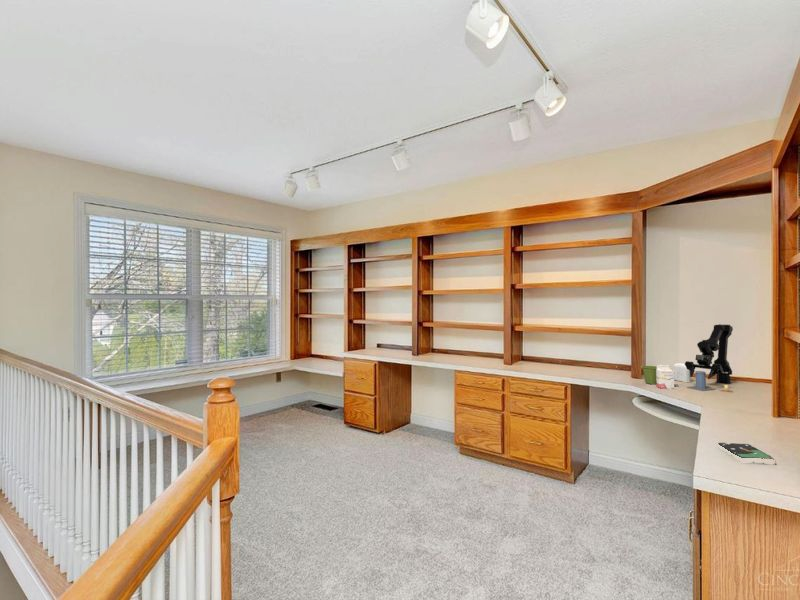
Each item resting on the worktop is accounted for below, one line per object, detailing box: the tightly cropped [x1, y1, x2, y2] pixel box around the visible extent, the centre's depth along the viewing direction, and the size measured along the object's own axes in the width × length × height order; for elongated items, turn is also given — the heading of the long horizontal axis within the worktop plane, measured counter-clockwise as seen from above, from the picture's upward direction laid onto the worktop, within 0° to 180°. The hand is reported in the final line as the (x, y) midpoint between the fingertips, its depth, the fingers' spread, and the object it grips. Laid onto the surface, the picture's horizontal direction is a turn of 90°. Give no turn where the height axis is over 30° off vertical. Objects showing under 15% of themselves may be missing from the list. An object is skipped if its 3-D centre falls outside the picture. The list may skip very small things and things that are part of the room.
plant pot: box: [640, 365, 657, 385], centre depth 271 cm, size 12×12×11 cm
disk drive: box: [717, 442, 775, 460], centre depth 145 cm, size 10×3×15 cm
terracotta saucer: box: [718, 384, 735, 394], centre depth 238 cm, size 7×7×5 cm
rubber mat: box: [686, 385, 716, 392], centre depth 247 cm, size 10×10×2 cm
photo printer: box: [673, 362, 692, 383], centre depth 275 cm, size 10×4×12 cm, turn 17°
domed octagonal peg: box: [694, 370, 707, 389], centre depth 247 cm, size 5×5×10 cm
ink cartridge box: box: [656, 364, 675, 390], centre depth 256 cm, size 9×5×15 cm, turn 77°
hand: (699, 377), depth 246 cm, fingers open, 9 cm apart
